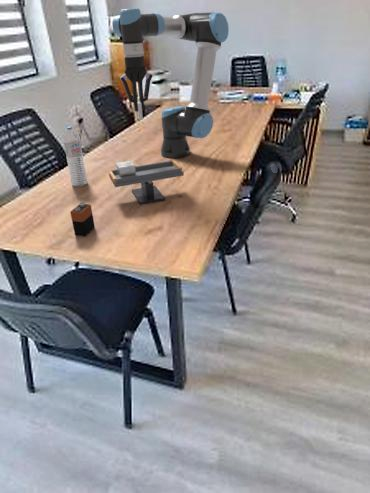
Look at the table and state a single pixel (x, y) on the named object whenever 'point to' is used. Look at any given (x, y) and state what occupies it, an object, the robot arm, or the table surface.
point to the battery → (82, 219)
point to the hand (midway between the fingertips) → (140, 119)
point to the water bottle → (75, 158)
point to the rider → (125, 169)
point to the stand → (147, 194)
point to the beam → (148, 173)
